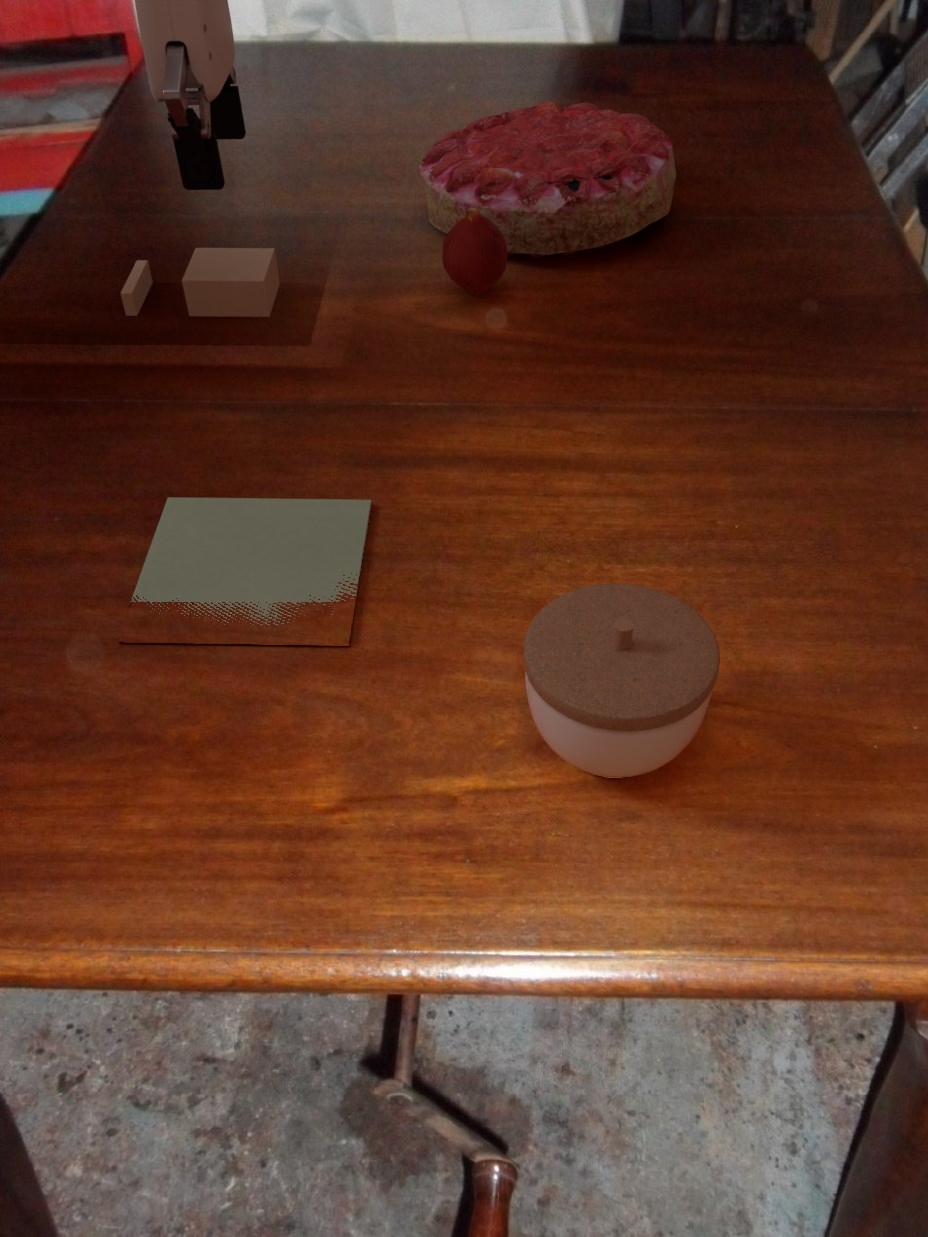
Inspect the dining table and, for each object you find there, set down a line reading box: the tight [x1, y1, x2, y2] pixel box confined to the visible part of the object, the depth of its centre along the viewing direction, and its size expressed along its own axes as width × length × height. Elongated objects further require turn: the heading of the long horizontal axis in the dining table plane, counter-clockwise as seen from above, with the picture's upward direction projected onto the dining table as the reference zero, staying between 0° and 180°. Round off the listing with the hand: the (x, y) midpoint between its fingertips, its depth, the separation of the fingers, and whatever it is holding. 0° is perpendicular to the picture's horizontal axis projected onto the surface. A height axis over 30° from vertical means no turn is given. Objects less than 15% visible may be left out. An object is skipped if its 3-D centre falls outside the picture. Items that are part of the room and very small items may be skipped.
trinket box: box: [522, 582, 721, 778], centre depth 65 cm, size 11×11×9 cm
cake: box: [418, 101, 677, 259], centre depth 114 cm, size 25×25×8 cm
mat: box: [130, 496, 373, 626], centre depth 79 cm, size 15×15×1 cm
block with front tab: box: [120, 247, 281, 318], centre depth 101 cm, size 15×6×5 cm, turn 88°
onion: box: [441, 208, 508, 296], centre depth 103 cm, size 6×6×8 cm
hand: (216, 162), depth 93 cm, fingers open, 9 cm apart
